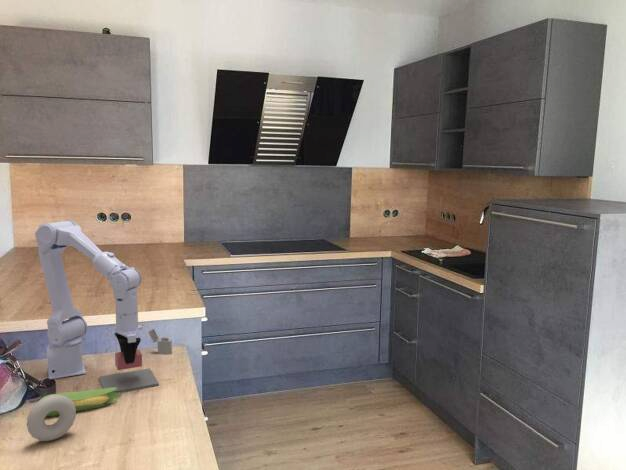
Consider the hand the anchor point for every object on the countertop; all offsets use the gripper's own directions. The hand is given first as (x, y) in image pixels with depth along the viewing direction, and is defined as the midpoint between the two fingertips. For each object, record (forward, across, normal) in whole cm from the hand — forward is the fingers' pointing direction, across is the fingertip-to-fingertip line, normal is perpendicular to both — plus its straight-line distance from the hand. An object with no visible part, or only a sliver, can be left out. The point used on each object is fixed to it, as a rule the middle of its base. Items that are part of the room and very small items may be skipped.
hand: (128, 359), depth 143 cm
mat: (+6, 0, 0) cm, 6 cm away
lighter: (+7, +19, -13) cm, 24 cm away
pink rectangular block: (+2, 0, 0) cm, 2 cm away
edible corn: (+7, -11, +13) cm, 19 cm away
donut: (+7, -24, +20) cm, 32 cm away
